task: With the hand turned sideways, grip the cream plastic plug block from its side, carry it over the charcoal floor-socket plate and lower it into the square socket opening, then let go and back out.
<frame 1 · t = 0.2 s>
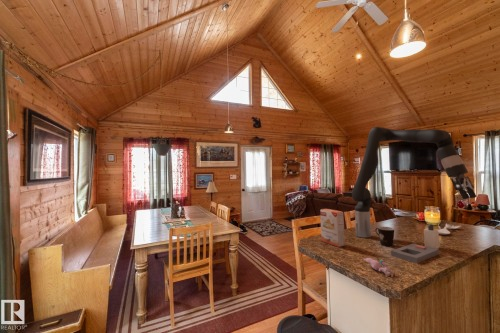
hand: (470, 198, 103), 31 cm above the worktop, tool tilted 20°, fingers open, 8 cm apart
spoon: (446, 232, 157), on the worktop
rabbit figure: (378, 271, 100), on the worktop
coffee mug: (385, 244, 134), on the worktop
plug: (432, 247, 126), on the worktop
cracker box: (332, 243, 139), on the worktop
socket: (415, 254, 116), on the worktop
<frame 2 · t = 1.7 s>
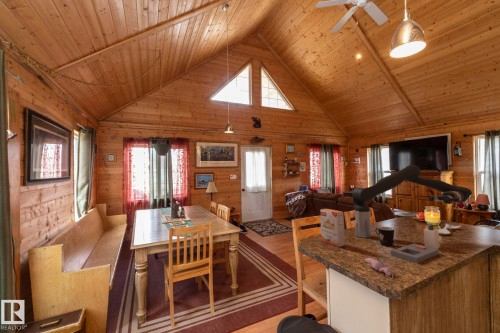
hand: (438, 199, 132), 26 cm above the worktop, tool horizontal, fingers open, 8 cm apart
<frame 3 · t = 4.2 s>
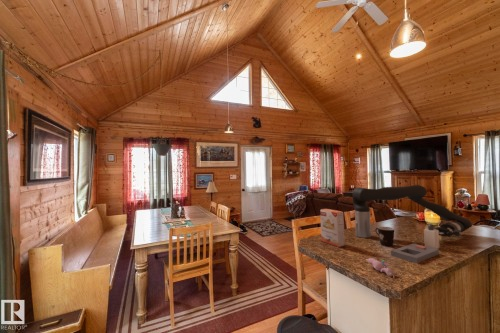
hand: (438, 232, 131), 7 cm above the worktop, tool horizontal, fingers open, 8 cm apart
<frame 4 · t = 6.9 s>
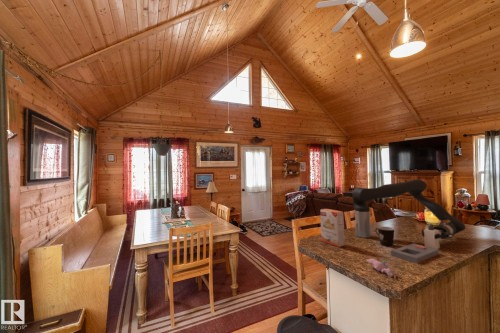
hand: (429, 235, 125), 7 cm above the worktop, tool horizontal, fingers closed on plug, 5 cm apart
plug: (432, 247, 126), on the worktop, touching gripper
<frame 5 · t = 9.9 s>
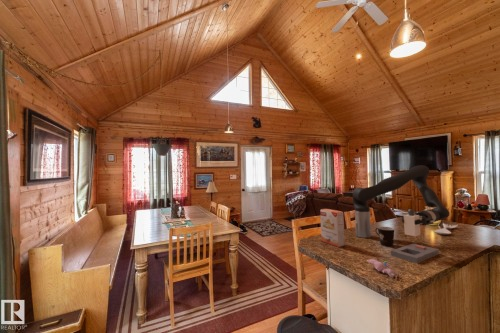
hand: (409, 221, 115), 18 cm above the worktop, tool horizontal, fingers closed on plug, 5 cm apart
plug: (412, 234, 116), point 11 cm above the worktop, touching gripper
when the fingers open (8 cm above the worktop, at t = 13.2 s): plug drops 1 cm, resting in socket.
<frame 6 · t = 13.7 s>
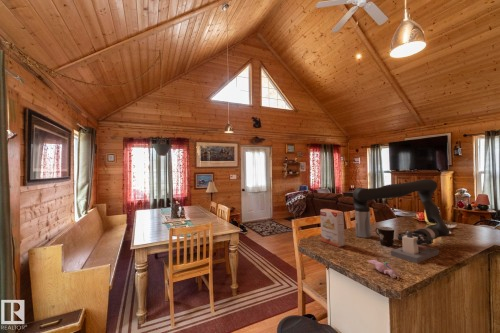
hand: (408, 240, 114), 8 cm above the worktop, tool horizontal, fingers open, 8 cm apart
plug: (410, 256, 114), resting in socket
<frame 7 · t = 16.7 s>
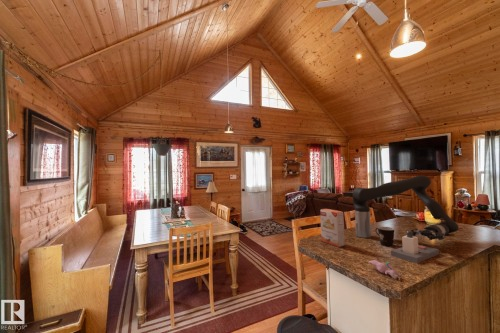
hand: (420, 236, 120), 9 cm above the worktop, tool horizontal, fingers open, 8 cm apart
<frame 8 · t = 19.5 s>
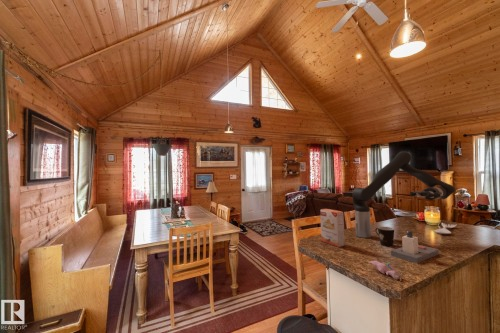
hand: (419, 195, 127), 30 cm above the worktop, tool horizontal, fingers open, 8 cm apart
at the end: plug 0.0 cm from the target spot on the socket, point 0.0 cm above the socket's base; plug tilted 0°; the gripper is holding nothing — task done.
